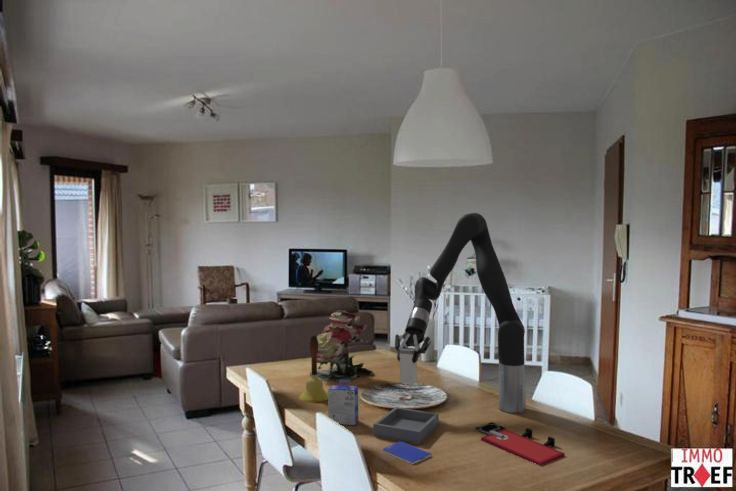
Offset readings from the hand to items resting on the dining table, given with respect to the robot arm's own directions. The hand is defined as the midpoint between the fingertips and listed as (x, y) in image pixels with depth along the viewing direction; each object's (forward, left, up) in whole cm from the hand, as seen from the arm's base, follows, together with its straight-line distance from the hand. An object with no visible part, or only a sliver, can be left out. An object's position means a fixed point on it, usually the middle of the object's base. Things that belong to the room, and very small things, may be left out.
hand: (406, 361), depth 193 cm
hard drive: (-13, +31, -20) cm, 39 cm away
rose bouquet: (+49, -35, -20) cm, 63 cm away
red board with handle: (-40, +9, -20) cm, 46 cm away
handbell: (+41, -3, -20) cm, 46 cm away
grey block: (0, -2, -8) cm, 8 cm away
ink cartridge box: (+17, +16, -20) cm, 31 cm away
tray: (-6, +14, -19) cm, 25 cm away
